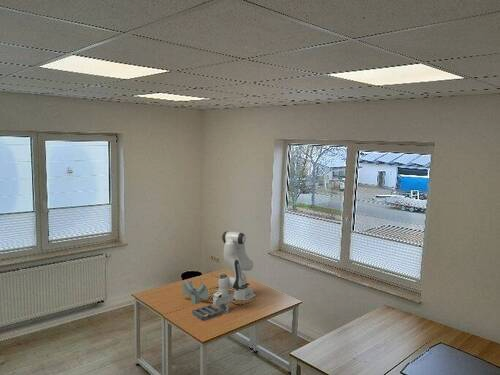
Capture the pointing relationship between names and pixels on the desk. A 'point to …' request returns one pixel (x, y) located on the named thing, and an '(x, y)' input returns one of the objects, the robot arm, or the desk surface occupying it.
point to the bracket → (195, 292)
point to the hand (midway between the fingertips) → (223, 308)
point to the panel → (224, 308)
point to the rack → (206, 312)
